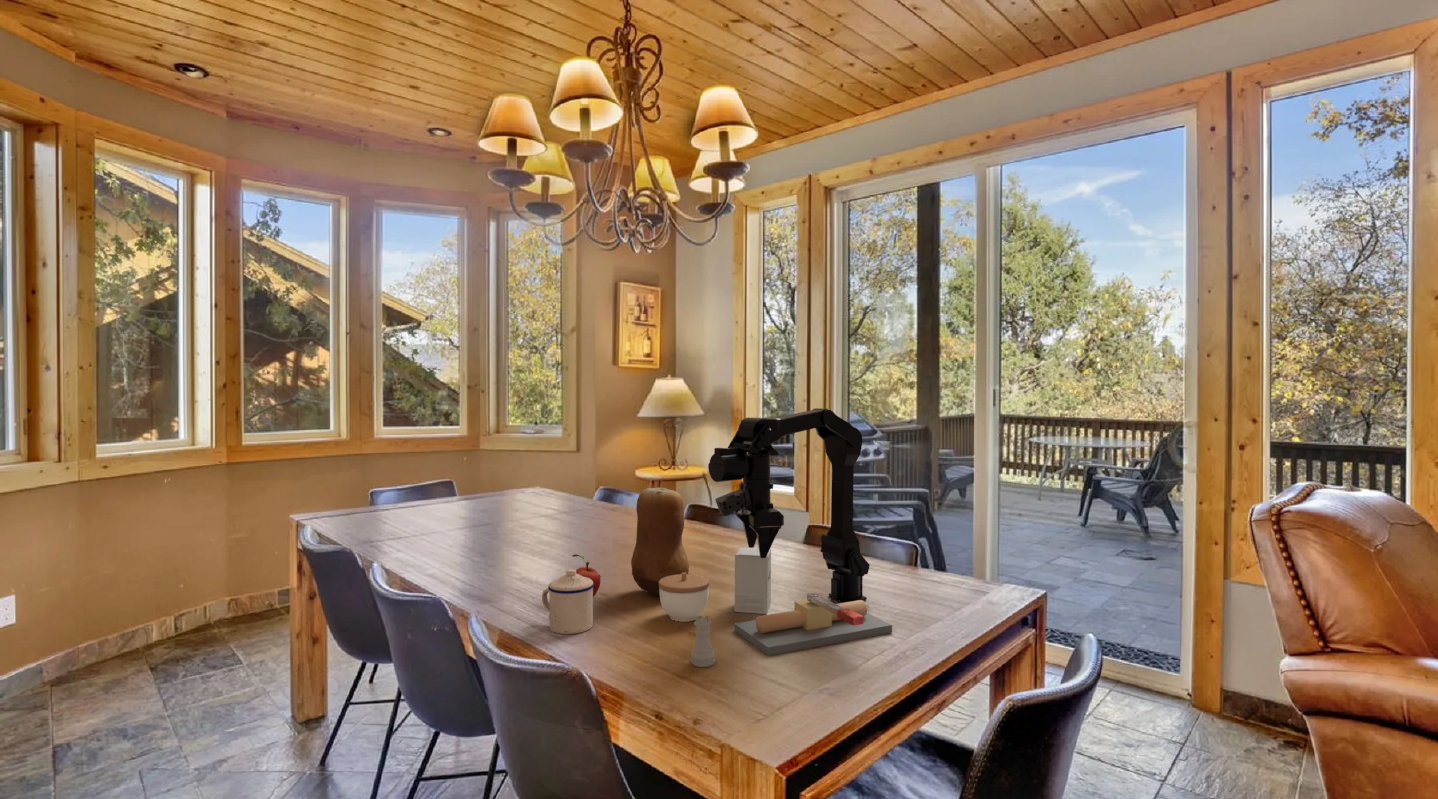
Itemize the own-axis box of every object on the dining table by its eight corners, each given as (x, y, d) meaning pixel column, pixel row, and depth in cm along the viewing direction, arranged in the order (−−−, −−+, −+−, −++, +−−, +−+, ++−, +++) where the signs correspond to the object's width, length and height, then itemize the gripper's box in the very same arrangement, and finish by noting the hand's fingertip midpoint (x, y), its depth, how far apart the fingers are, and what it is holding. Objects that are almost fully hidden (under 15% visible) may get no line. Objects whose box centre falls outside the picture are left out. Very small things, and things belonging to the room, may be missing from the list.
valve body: (850, 611, 147) (850, 583, 147) (892, 632, 134) (892, 601, 134) (734, 630, 135) (734, 599, 135) (768, 655, 123) (768, 621, 123)
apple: (604, 593, 160) (604, 551, 160) (596, 603, 153) (596, 559, 153) (573, 593, 161) (573, 551, 161) (563, 602, 154) (563, 558, 154)
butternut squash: (695, 586, 166) (694, 484, 165) (680, 603, 152) (680, 493, 152) (640, 583, 168) (640, 483, 168) (622, 600, 155) (622, 491, 155)
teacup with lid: (603, 623, 140) (602, 567, 139) (574, 638, 131) (574, 578, 131) (557, 615, 145) (557, 560, 145) (527, 628, 137) (527, 571, 137)
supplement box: (767, 614, 145) (767, 556, 145) (733, 612, 147) (733, 554, 146) (771, 604, 152) (771, 548, 152) (739, 602, 154) (739, 546, 154)
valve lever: (804, 600, 135) (804, 593, 135) (814, 598, 136) (814, 591, 136) (853, 625, 121) (853, 618, 121) (864, 623, 122) (864, 616, 122)
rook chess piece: (689, 658, 121) (689, 614, 121) (714, 657, 122) (714, 613, 122) (690, 668, 117) (690, 622, 117) (716, 667, 117) (716, 621, 117)
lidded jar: (683, 629, 136) (683, 583, 136) (648, 617, 143) (648, 573, 143) (719, 616, 144) (719, 572, 144) (684, 605, 151) (684, 563, 151)
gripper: (709, 473, 148) (710, 544, 149) (729, 485, 130) (729, 566, 130) (758, 472, 151) (759, 541, 151) (784, 483, 133) (784, 563, 133)
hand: (757, 552), depth 141 cm, fingers open, 9 cm apart
